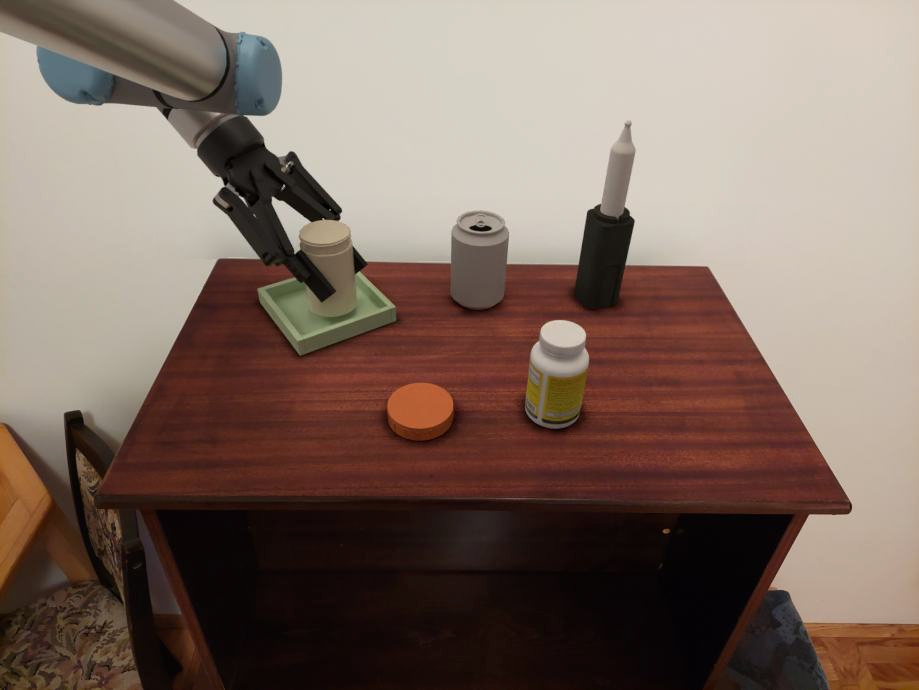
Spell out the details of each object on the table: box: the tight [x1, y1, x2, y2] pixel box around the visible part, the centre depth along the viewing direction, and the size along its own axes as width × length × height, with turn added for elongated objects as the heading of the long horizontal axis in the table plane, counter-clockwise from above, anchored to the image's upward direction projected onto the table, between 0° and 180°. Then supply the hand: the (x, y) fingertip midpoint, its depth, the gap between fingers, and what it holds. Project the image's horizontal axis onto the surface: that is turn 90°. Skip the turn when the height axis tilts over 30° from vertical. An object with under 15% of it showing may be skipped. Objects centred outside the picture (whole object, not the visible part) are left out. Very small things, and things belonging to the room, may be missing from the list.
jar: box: [298, 219, 357, 317], centre depth 82 cm, size 6×6×11 cm
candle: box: [573, 119, 637, 311], centre depth 83 cm, size 5×5×25 cm
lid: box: [386, 382, 455, 442], centre depth 71 cm, size 7×7×2 cm
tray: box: [257, 270, 397, 356], centre depth 86 cm, size 14×14×2 cm
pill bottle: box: [524, 319, 590, 430], centre depth 69 cm, size 6×6×11 cm
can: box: [449, 209, 510, 311], centre depth 86 cm, size 8×8×12 cm
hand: (345, 282), depth 82 cm, fingers closed on jar, 6 cm apart
